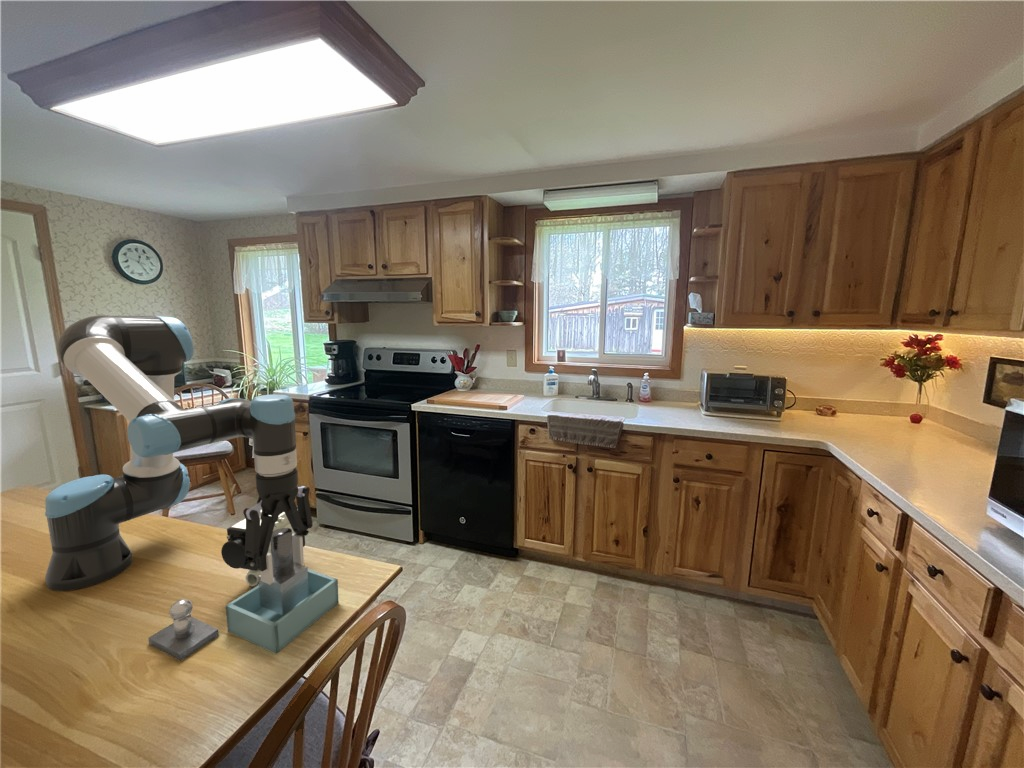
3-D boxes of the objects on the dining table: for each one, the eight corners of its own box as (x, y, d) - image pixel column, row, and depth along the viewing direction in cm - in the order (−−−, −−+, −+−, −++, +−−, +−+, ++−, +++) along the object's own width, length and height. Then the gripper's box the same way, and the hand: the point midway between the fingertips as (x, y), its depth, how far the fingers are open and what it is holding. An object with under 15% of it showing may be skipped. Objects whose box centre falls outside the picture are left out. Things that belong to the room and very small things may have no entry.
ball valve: (255, 603, 94) (250, 531, 91) (224, 597, 95) (217, 526, 92) (309, 559, 111) (305, 497, 108) (281, 554, 113) (277, 493, 110)
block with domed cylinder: (282, 615, 85) (278, 543, 83) (260, 605, 88) (255, 536, 85) (308, 595, 91) (305, 528, 89) (287, 587, 94) (283, 522, 91)
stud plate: (149, 644, 81) (144, 604, 80) (188, 620, 88) (184, 583, 86) (180, 661, 78) (176, 620, 76) (218, 635, 84) (215, 597, 83)
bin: (227, 631, 85) (225, 605, 84) (294, 586, 100) (293, 563, 99) (275, 654, 80) (273, 626, 79) (338, 602, 95) (337, 579, 94)
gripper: (242, 491, 74) (251, 605, 78) (328, 458, 92) (332, 552, 96) (215, 484, 77) (224, 594, 81) (303, 453, 95) (308, 544, 99)
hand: (283, 571), depth 88 cm, fingers open, 7 cm apart
